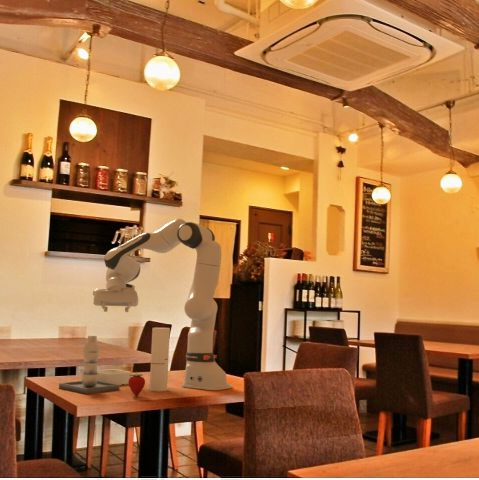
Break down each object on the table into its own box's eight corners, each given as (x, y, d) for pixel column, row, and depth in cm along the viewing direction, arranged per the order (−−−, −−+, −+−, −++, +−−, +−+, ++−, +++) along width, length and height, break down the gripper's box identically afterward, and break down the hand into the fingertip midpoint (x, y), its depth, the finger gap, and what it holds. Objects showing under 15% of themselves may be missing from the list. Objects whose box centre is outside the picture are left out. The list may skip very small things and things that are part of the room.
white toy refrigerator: (170, 389, 228) (173, 328, 230) (158, 391, 222) (161, 328, 224) (157, 387, 232) (160, 327, 234) (145, 389, 226) (148, 327, 228)
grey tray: (119, 389, 224) (119, 384, 224) (86, 394, 211) (86, 388, 211) (91, 384, 235) (92, 379, 235) (58, 388, 222) (59, 383, 223)
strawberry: (133, 398, 205) (134, 371, 206) (124, 395, 211) (126, 368, 212) (147, 397, 208) (148, 370, 210) (138, 394, 215) (140, 368, 216)
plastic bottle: (85, 388, 219) (88, 336, 221) (78, 385, 224) (81, 335, 226) (100, 386, 223) (103, 336, 225) (92, 384, 228) (95, 335, 230)
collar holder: (130, 383, 241) (131, 371, 241) (107, 386, 231) (108, 374, 232) (112, 380, 249) (113, 368, 249) (89, 382, 239) (90, 371, 239)
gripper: (93, 284, 257) (93, 305, 247) (137, 285, 263) (139, 306, 253) (92, 293, 261) (92, 315, 251) (136, 295, 267) (137, 316, 257)
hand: (116, 311), depth 252 cm, fingers open, 8 cm apart
